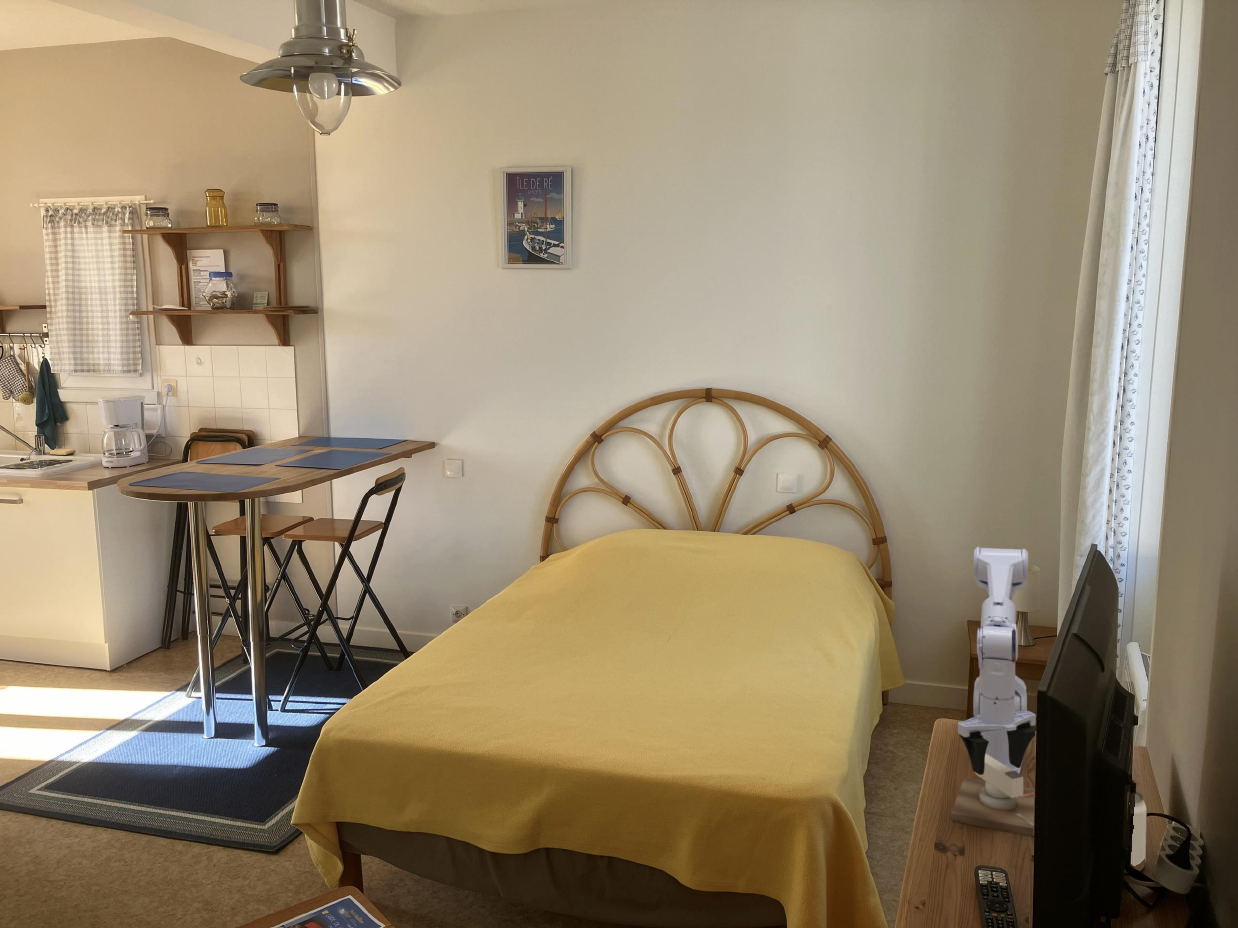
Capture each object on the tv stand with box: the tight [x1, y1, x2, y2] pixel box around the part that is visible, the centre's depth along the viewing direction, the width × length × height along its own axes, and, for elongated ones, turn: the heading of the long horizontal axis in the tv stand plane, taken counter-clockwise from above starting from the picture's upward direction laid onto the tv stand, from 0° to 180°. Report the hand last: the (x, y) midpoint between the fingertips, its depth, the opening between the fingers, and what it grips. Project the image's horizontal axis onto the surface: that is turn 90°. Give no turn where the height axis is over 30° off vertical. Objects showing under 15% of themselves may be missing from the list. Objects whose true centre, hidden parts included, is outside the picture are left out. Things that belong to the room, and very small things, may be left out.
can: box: [1129, 790, 1147, 866], centre depth 153 cm, size 6×6×12 cm
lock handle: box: [974, 754, 1024, 798], centre depth 172 cm, size 10×4×5 cm, turn 17°
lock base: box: [950, 776, 1035, 837], centre depth 172 cm, size 15×14×3 cm
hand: (996, 768), depth 167 cm, fingers open, 7 cm apart
